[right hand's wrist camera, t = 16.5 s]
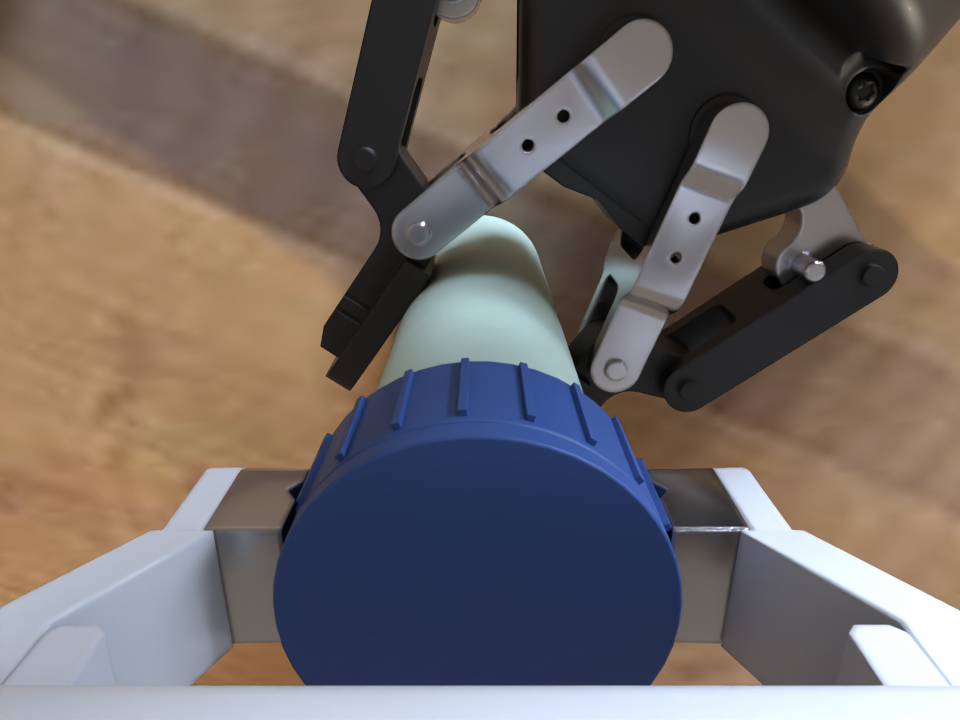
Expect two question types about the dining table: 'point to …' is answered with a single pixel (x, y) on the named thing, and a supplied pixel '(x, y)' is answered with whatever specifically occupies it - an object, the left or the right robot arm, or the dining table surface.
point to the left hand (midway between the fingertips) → (421, 417)
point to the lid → (478, 541)
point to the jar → (483, 308)
